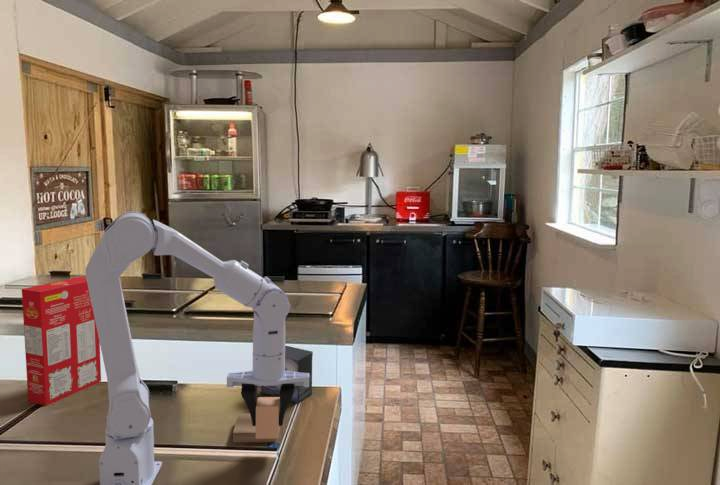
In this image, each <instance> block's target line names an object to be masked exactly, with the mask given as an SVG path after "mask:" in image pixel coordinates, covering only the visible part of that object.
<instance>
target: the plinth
mask: <svg viewBox="0 0 720 485" xmlns="http://www.w3.org/2000/svg"><path fill="white" fill-rule="evenodd" d="M233 427H234V428H233V432H232V444H239V443H240V444H241V443H244V444H245V443H276V442H277V438H271V439H256V426H252V419H251V415H250V413H238V414H237V418H236V421H235V425H234V426H233Z"/></svg>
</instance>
